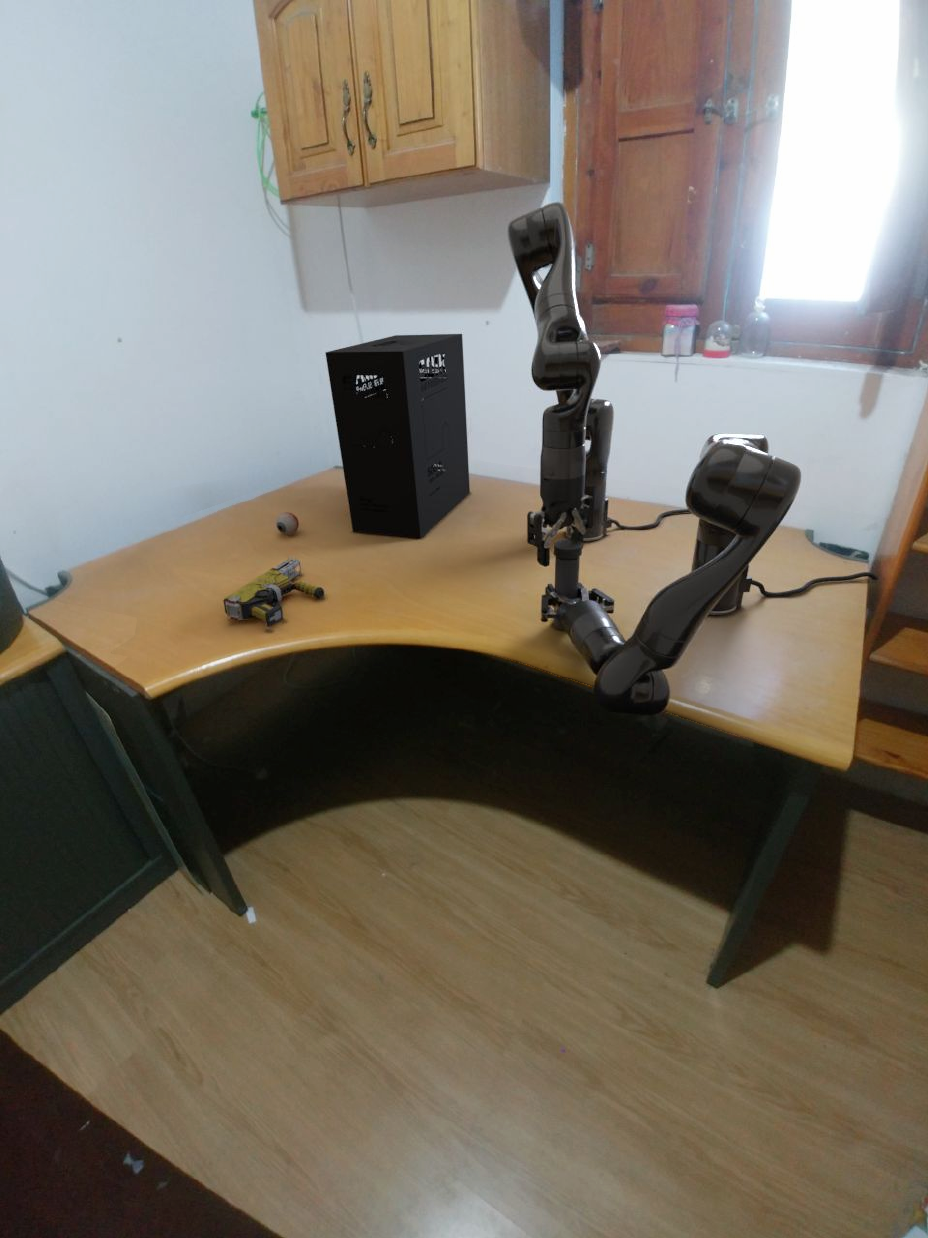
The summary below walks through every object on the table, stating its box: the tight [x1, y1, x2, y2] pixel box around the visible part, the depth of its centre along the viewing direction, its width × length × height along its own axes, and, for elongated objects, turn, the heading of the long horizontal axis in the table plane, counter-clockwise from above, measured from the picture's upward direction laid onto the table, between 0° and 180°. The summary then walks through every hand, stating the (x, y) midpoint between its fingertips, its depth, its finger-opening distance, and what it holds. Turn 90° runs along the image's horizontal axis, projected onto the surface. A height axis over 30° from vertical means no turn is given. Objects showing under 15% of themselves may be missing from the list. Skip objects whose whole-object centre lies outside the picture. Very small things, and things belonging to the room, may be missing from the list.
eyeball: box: [275, 511, 300, 536], centre depth 163 cm, size 6×6×6 cm
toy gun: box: [222, 557, 325, 628], centre depth 130 cm, size 5×24×15 cm
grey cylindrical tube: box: [553, 555, 581, 631], centre depth 112 cm, size 4×4×16 cm
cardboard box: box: [325, 333, 471, 539], centre depth 165 cm, size 38×20×45 cm, turn 159°
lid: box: [553, 538, 583, 559], centre depth 109 cm, size 5×5×2 cm
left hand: (560, 558), depth 110 cm, fingers open, 7 cm apart
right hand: (561, 586), depth 115 cm, fingers closed on grey cylindrical tube, 4 cm apart
